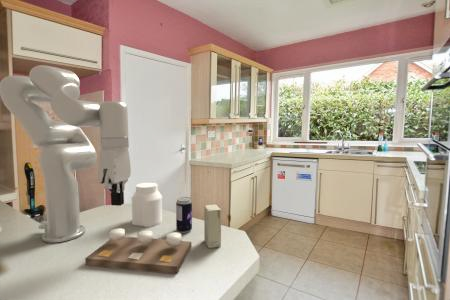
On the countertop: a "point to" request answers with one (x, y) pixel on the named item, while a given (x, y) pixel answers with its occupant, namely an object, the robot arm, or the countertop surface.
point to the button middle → (145, 236)
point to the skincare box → (212, 226)
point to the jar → (147, 205)
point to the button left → (117, 234)
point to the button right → (173, 238)
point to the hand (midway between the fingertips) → (117, 204)
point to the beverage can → (184, 214)
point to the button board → (140, 255)
